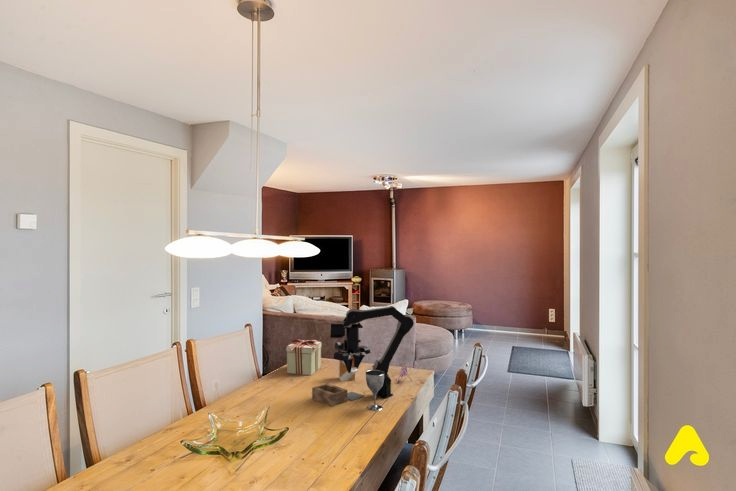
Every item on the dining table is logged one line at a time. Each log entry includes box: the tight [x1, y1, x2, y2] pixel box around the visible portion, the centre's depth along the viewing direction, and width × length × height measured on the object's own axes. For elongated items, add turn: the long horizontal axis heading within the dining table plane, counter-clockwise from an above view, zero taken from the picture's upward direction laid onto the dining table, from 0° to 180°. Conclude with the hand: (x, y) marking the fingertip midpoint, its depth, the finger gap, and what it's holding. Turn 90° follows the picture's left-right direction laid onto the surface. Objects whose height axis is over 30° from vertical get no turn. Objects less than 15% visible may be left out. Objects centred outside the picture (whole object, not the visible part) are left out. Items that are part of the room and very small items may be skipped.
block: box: [339, 367, 359, 383], centre depth 196 cm, size 9×4×2 cm
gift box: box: [285, 338, 323, 376], centre depth 233 cm, size 17×18×17 cm
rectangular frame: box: [311, 383, 348, 407], centre depth 189 cm, size 13×9×5 cm
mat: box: [347, 391, 365, 402], centre depth 194 cm, size 8×8×1 cm
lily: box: [395, 362, 412, 384], centre depth 217 cm, size 12×12×10 cm
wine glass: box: [365, 369, 384, 412], centre depth 181 cm, size 8×8×15 cm
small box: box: [338, 355, 356, 381], centre depth 220 cm, size 8×6×13 cm
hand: (352, 371), depth 194 cm, fingers closed on block, 4 cm apart
